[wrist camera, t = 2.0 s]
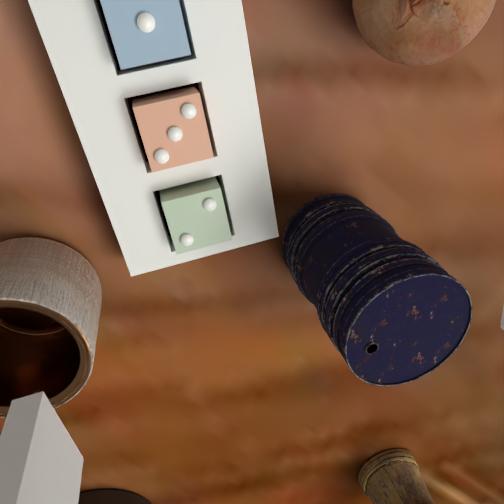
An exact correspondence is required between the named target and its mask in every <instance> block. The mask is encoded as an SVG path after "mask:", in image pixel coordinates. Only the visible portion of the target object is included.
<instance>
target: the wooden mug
mask: <svg viewBox="0 0 504 504" xmlns="http://www.w3.org/2000/svg"><path fill="white" fill-rule="evenodd" d="M358 482H359V484H360V486H361V487H362V489H363V491H364V492H365V494H366V496H368V497H369V498H370V499H371V500H372V502H373V503H374V504H435V503H434V501H433V499H432V497H431V495H430V493H429V491H428V489H427V487H426V485H425V483H424V481H423V479H422V476H421V474H420V472H419V467H418V465H417V463H416V462H415V459H414V457H413V454H412V453H411V452H410V451H408V450H406V449H391V450H386V451H384V452H381V453H379V454H377V455H376V456H374V457H372V458H371V459H370V460H368V461H367V462H366V463H365V464H364V465H363V466H362V467H361V469H360V471H359V474H358Z"/></svg>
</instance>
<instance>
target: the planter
mask: <svg viewBox="0 0 504 504" xmlns="http://www.w3.org/2000/svg"><path fill="white" fill-rule="evenodd" d="M101 303H102V290H101V284H100V280H99V277H98V275H97V273H96V271H95V269H94V268H93V266H92V265H91V264H90V262H89V261H88V260H87V259H86V258H85V257H84V256H82V255H81V254H80V253H79V252H77V251H76V250H74V249H73V248H71V247H69V246H67V245H65V244H62V243H60V242H57V241H54V240H50V239H45V238H39V237H20V238H13V239H9V240H5V241H2V242H0V417H7V414H8V411H9V408H10V405H11V402H12V400H15V399H18V398H22V397H25V396H28V395H32V394H35V393H39V392H42V391H43V392H44V393H45V395H46V397H47V398H48V400H49V402H50V403H51V405H52V407H53V408H54V409H55V408H57V407H59V406H61V405H63V404H65V403H66V402H68V401H69V400H71V399H72V398H73V397H74V396H76V395H77V394H78V393H79V392H80V391H81V389H82V388H83V387H84V386H85V384H86V383H87V381H88V379H89V377H90V375H91V372H92V368H93V362H94V355H95V346H96V338H97V331H98V324H99V317H100V310H101Z"/></svg>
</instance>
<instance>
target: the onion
mask: <svg viewBox="0 0 504 504" xmlns="http://www.w3.org/2000/svg"><path fill="white" fill-rule="evenodd" d="M495 2H496V0H353V4H352V5H353V12H354V17H355V20H356V23H357V27H358V29H359V31H360V33H361V35H362V37H363V38H364V40H365V41H366V43H367V44H368V45H369V46H370V47H371V48H372V49H373V50H374V51H376V52H377V53H378V54H379V55H381V56H382V57H384V58H386V59H388V60H390V61H393V62H396V63H401V64H405V65H408V66H420V65H429V64H433V63H437V62H440V61H442V60H444V59H446V58H449V57H451V56H452V55H454V54H455V53H457V52H458V51H459V50H461V49H462V48H463V47H464V46H465V45H467V44H468V43H469V42H470V41H471V40H472V39H473V38H474V37H475V36H476V35H477V34H478V32H479V31H480V30H481V29H482V28H483V26H484V25H485V23H486V22H487V20H488V18H489V16H490V14H491V12H492V10H493V7H494V5H495Z"/></svg>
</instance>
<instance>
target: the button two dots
mask: <svg viewBox="0 0 504 504" xmlns="http://www.w3.org/2000/svg"><path fill="white" fill-rule="evenodd" d="M159 192H160V198H161V204H162V207H163V210H164V214H165V217H166V220H167V224H168V227H169V230H170V234H171V237H172V240H173V244H174V247H175V250H176V253H177V254H181V253H185V252H189V251H192V250H196V249H200V248H203V247H207V246H211V245H215V244H218V243H222V242H226V241H230V240H232V237H231V232H230V228H229V223H228V219H227V214H226V210H225V205H224V201H223V196H222V192H221V187H220V185H219V183H218V181H217V180H216V178H215V176H214V177H210V178H206V179H202V180H198V181H194V182H190V183H186V184H182V185H178V186H174V187H170V188H166V189H162V190H159Z"/></svg>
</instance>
